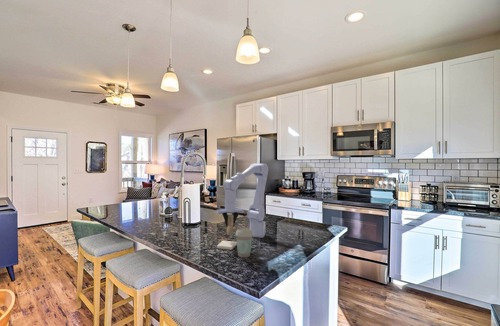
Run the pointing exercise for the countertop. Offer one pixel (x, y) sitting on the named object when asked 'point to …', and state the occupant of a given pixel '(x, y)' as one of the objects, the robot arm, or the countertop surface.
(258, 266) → the countertop surface
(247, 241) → the coffee cup
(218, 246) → the tile
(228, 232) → the stick
